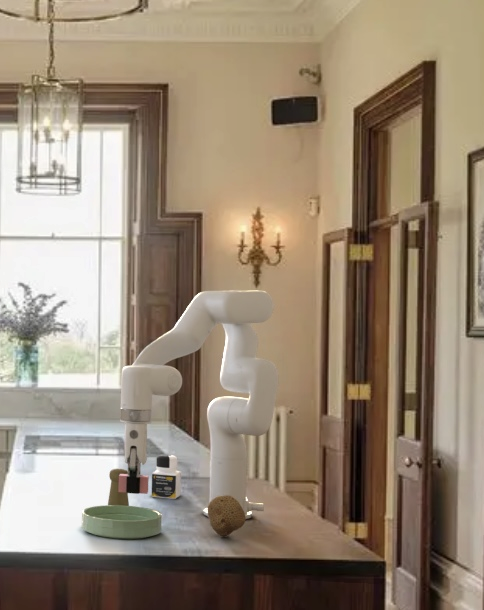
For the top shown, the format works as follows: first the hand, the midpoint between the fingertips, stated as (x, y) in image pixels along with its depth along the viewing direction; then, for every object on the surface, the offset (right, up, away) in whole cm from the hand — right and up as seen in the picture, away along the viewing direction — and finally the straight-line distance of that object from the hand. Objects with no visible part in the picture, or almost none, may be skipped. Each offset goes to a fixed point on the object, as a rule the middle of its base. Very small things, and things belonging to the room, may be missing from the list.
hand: (133, 491), depth 246 cm
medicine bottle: (+15, -11, +49) cm, 53 cm away
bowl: (-3, -10, +1) cm, 10 cm away
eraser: (0, 0, 0) cm, 0 cm away
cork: (-1, -10, +28) cm, 30 cm away
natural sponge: (+22, -11, -3) cm, 24 cm away
